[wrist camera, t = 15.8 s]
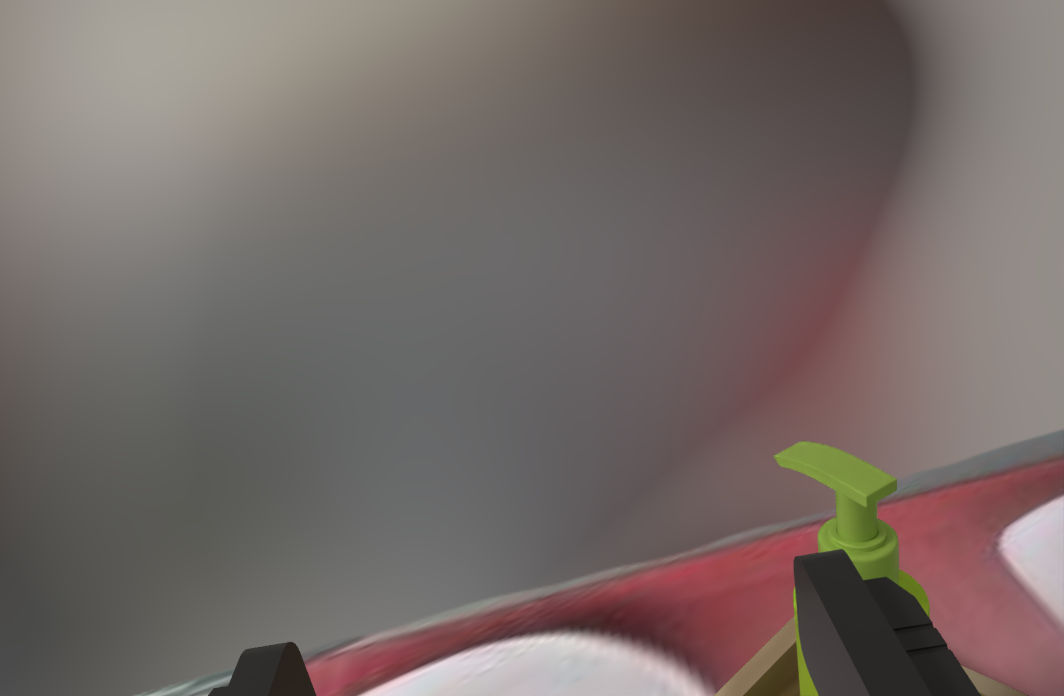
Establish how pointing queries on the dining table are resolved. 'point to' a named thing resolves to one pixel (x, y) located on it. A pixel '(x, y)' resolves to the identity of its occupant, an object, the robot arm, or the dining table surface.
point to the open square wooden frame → (773, 678)
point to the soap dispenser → (851, 522)
